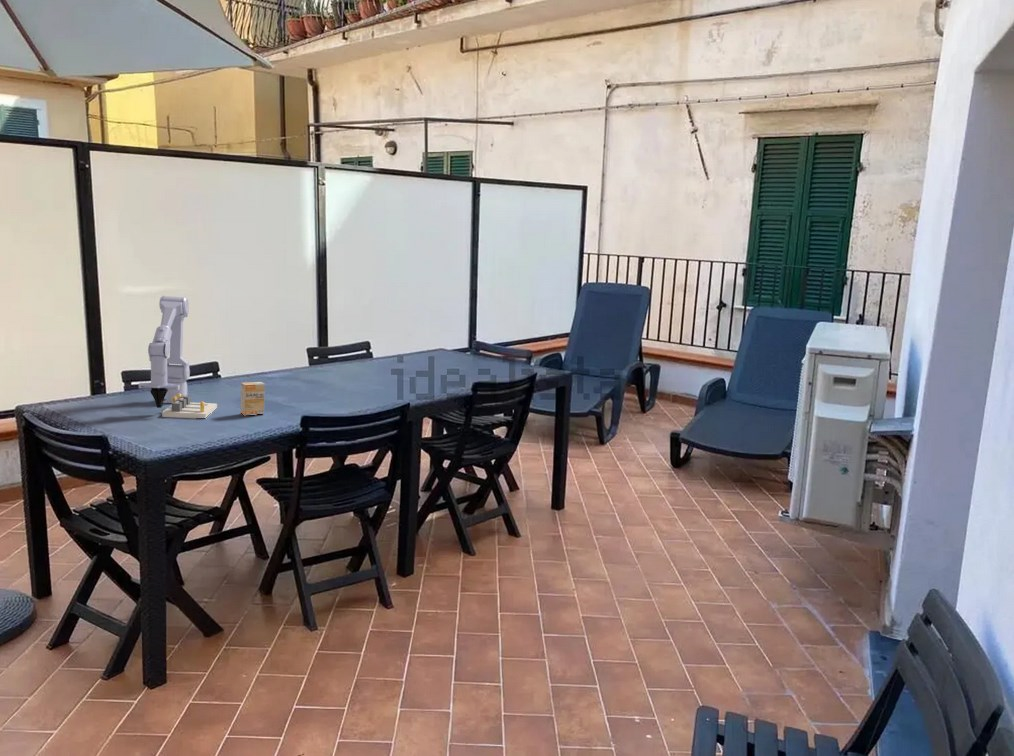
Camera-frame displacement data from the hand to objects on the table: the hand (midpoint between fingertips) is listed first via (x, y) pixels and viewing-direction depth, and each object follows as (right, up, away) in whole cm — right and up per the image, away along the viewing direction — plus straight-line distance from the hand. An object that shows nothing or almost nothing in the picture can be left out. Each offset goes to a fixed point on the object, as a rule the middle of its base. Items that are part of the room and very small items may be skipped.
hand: (159, 407), depth 291 cm
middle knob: (+6, 0, +6) cm, 9 cm away
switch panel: (+9, -2, +7) cm, 12 cm away
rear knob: (+5, +1, +12) cm, 13 cm away
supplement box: (+32, -4, +12) cm, 34 cm away
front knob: (+6, -1, +1) cm, 7 cm away
